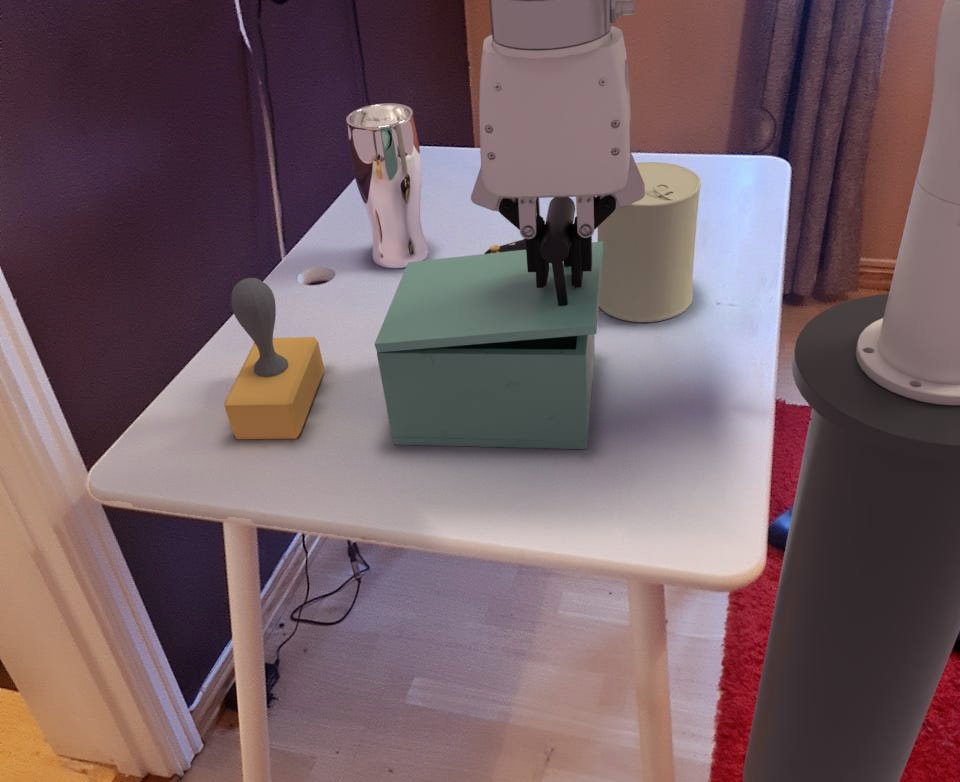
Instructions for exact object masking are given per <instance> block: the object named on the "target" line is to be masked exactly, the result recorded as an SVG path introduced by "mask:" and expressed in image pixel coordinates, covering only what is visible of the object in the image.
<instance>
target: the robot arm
mask: <svg viewBox="0 0 960 782" xmlns="http://www.w3.org/2000/svg"><path fill="white" fill-rule="evenodd" d="M488 4H489V15H490V26H491V27H490V29H491V34H490V35H488V36H486V37H485V38H484V39H483V42H482V50H481V62H480V71H479V72H480V74H479V96H478V97H479V101H478V103H479V105H478V106H479V107H478V111H479V116H478V117H479V150H480V151H479V152H480V153H479V154H480V168H479V170H478V173H477V177H476V180H475V183H474V186H473V189H472V192H471V194H470V200H471V202H472V204H475V205H477V206H479V207H482V208H485V209H487V210H489V211H493V212H498V213H499V214H500V215H501V216H503V218H505V219H506V220H507V221H508V222H509V223H510V224H512V225H513V226H514V227H515V228H516V229H518V231H519V234H520V236H521V237H523V239H526V254H527V269H528V272H536V286H537V288H544V286H546V285H547V280H548V274H549V262H547V261H546V260H544V259H543V257H542V255H541V252H540V249H541V244H542V238H543V233H544V228H545V223H546V220H544V217H543V216H541V205H540V199H542V198H544V199H545V198H554V197H569V198H574V197H575V210H576V216H574V221H573V227H572V234H571V241H570V245H571V278H572V286H574V287H575V288H581V287H582V278H583V272H584V271H591V270H592V243H593V235H594V233H595V230H596V229H598V226H599V225H600V224H601V223H602V222H603V221H604V220H605V219H606V218H608V217H609V216H610V215H611V214H612V213H613V212H614V210H616V209H618V208H622V207H625V206H627V205H629V204H632V203H634V202H637V201H639V200H641V199H642V198H643V197H644V195H645V184H644V182H643V179H642V177H641V175H640V172H639V170H638V168H637V165H636V163H637V162H636V160H635V158H634V156H633V154H632V127H631V126H632V120H631V119H632V118H631V93H630V92H631V91H630V90H631V89H630V74H629V73H630V72H629V63H628V57H627V49H626V44H625V38H624V33H623V31H622V29H621V28H619V27H616V26H611V25H612V24H615V23H616V19H621V18H622V17H623V16H631V15H632V16H633V15H635V0H488ZM935 42H936V43H935V45H936V46H935V53H934V54H935V55H934V56H935V57H934V70H933V71H934V74H933V88H932V97H931V106H930V112H929V117H928V123H927V128H926V129H927V130H926V134H925V139H924V144H923V147H922V152H921V157H920V162H919V166H918V169H917V174H916V177H915V180H914V181H915V182H914V185H913V189H912V194H911V199H910V203H909V207H908V212H907V216H906V220H905V223H904V228H903V233H902V237H901V241H900V245H899V250H898V255H897V258H896V263H895V267H894V271H893V274H892V279H891V283H890V288H889V292H888V294H889V296H888V300H887V305H886V309H885V313H884V317H883V318H882V319H880V320H877V321H875V322H873V323H872V324H870V325H869V326H868V327H866V328H865V329H864V330H863V332H862V333H861V334H860V337H859V339H858V342H857V348H856V358H857V362H858V364H859V365H860V367H861V369H862V370H863V371H864V372H865V373H866V374H867V376H868V377H869V378H871V379H872V380H873V381H875V382H876V383H877V384H879V385H880V386H882V387H884V388H886V389H887V390H889V391H891V392H893V393H896V394H898V395H901V396H904V397H906V398H910V399H913V400H917V401H921V402H926V403H932V404H938V405H952V406H957V405H960V0H944V3H943V6H942V9H941V13H940V18H939V22H938V27H937V33H936V41H935Z"/></svg>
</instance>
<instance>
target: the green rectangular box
mask: <svg viewBox="0 0 960 782" xmlns="http://www.w3.org/2000/svg"><path fill="white" fill-rule="evenodd" d="M595 336H596V334H592V335H580V336H568V337H556V338H544V339H532V340H520V341H509V342H497V343H485V344H473V345H461V346H449V347H437V348H425V349H413V350H401V351H390V352H377V351H376V357H377V363H378V368H379V372H380V379H381V384H382V390H383V395H384V400H385V405H386V410H387V411H386V412H387V416H388V421H389V427H390V433H391V437H392V443H393V445H396V446H397V445H401V446H403V445H406V446H436V447H437V446H438V447H439V446H440V447H475V448H476V447H478V448H480V447H481V448H482V447H483V448H513V449H514V448H517V449H519V448H520V449H521V448H523V449H525V448H526V449H555V450H556V449H557V450H559V449H560V450H587V449H588V439H589V438H588V437H589V429H590V418H591V417H590V416H591V406H592V405H591V404H592V392H593V383H594V382H593V381H594V370H595V357H596V356H595V354H596V351H595V349H596V348H595V347H596V345H595V341H596V340H595V338H596V337H595Z"/></svg>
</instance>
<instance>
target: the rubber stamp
mask: <svg viewBox="0 0 960 782" xmlns="http://www.w3.org/2000/svg"><path fill="white" fill-rule="evenodd" d="M230 298H231V299H230V303H231V310H232V313H233V315H234V317H235V320H237V322H238V323H239V325H240V326H241V327H242V328H243V330H244V331H245V332H246V333H247V335H248V336H249V337H250V338H251V340H252V341H253V342H254V343H253V345H252V347H251V349H250V350H249V353H248V355H247V357H246V358H245V360H244V362H243V365H242V366H241V368H240V370H239V372H238V375H237V376H236V378H235V381H234V383H233V385H232V387H231V389H230V390H229V392H228V394H227V396H226V399H225V400H224V402H223V407H224V409H225V412H226V416H227V418H228V421H229V425H230V427H231V428H230V429H231V431H232V434H233V435H234V437H235V438H236V439H237V440H289V439H292V440H293V439H294V440H295V439H298V437H299V436H300V434H301V432H302V430H303V427H304V424H305V422H306V419H307V417H308V414H309V412H310V409H311V406H312V403H313V401H314V399H315V396H316V393H317V391H318V388H319V385H320V382H321V380H322V377H323V375H324V372H325V366H324V361H323V357H322V353H321V348H320V343H319V341H318V339H317V338H316V337H315V336H303V337H301V336H298V337H297V336H296V337H274V330H275V326H276V325H275V324H276V316H277V315H276V313H277V312H276V311H277V307H276V306H277V305H276V304H277V303H276V298H275V295H274V292H273V290H272V289H271V287H270V286H269V285H268V284H267V283H266V282H264V281H262V280H261V279H259V278H257V277H246V278H243V279H241V280H239V281H238V282H237V283H236V284H235V285H234V286H233V289H232V291H231V297H230Z"/></svg>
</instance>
